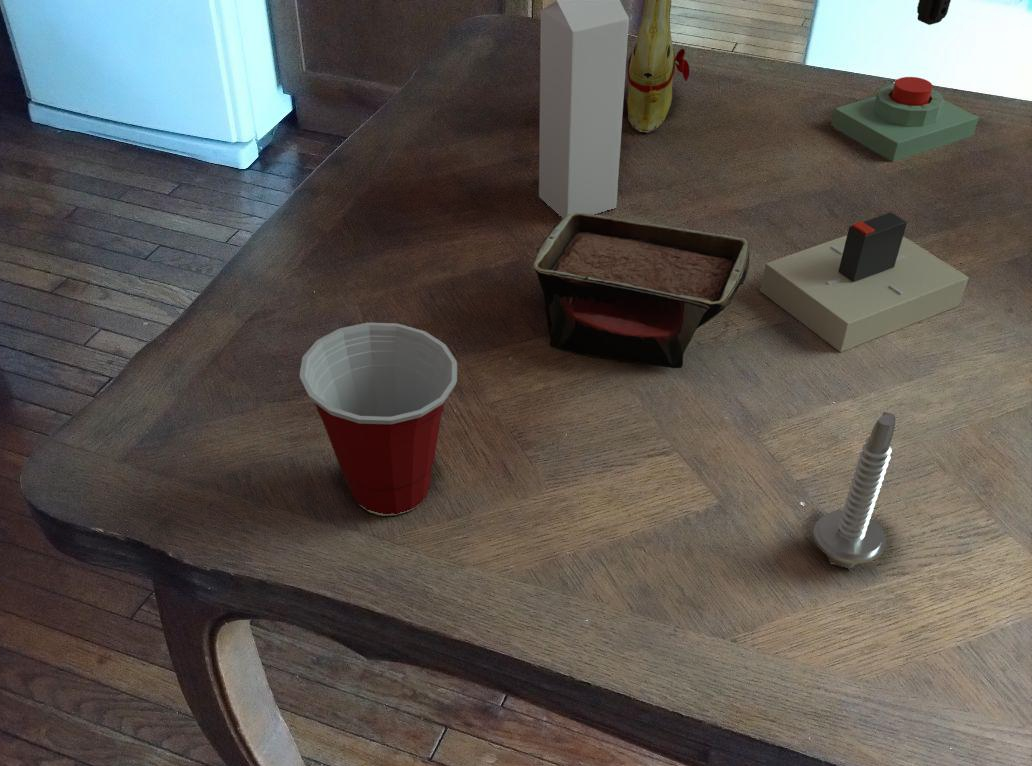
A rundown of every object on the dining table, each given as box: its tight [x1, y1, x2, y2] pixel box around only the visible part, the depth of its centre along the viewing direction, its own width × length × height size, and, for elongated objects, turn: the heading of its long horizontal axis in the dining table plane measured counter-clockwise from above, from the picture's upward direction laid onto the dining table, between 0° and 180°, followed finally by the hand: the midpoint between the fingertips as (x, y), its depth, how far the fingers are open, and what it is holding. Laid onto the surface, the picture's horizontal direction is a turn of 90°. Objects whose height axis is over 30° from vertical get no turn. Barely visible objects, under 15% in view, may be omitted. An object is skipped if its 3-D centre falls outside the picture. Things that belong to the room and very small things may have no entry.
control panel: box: [760, 234, 970, 353], centre depth 96 cm, size 14×11×3 cm
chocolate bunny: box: [626, 0, 690, 131], centre depth 118 cm, size 7×11×15 cm, turn 168°
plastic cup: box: [299, 322, 458, 514], centre depth 77 cm, size 11×11×12 cm
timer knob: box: [838, 212, 908, 282], centre depth 93 cm, size 5×2×5 cm, turn 118°
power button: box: [891, 76, 933, 106], centre depth 117 cm, size 4×4×2 cm
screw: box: [812, 411, 896, 570], centre depth 71 cm, size 13×5×5 cm
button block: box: [830, 83, 980, 163], centre depth 119 cm, size 12×10×4 cm
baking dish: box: [532, 213, 751, 369], centre depth 92 cm, size 14×18×10 cm
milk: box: [538, 0, 630, 219], centre depth 102 cm, size 6×6×22 cm
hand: (929, 21), depth 111 cm, fingers closed
